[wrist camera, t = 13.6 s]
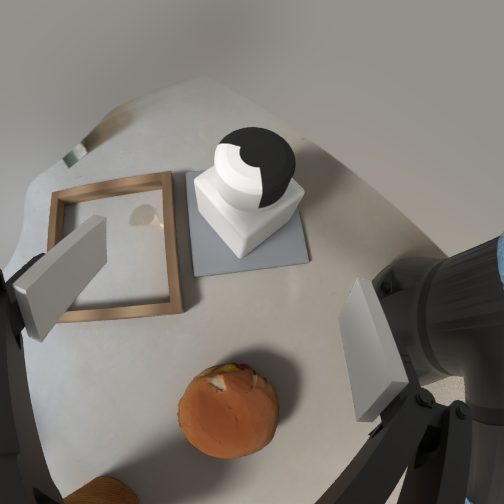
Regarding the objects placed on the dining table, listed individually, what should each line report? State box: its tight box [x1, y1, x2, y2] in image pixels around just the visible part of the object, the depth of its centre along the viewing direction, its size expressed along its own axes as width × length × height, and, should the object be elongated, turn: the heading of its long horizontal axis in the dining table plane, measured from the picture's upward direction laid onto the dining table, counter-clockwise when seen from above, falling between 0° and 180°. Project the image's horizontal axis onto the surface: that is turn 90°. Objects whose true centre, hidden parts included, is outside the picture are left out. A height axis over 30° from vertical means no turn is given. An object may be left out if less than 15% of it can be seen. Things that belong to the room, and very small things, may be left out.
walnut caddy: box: [47, 171, 184, 323], centre depth 30 cm, size 15×15×2 cm
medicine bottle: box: [194, 127, 305, 258], centre depth 27 cm, size 7×7×12 cm
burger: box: [177, 363, 279, 459], centre depth 25 cm, size 10×9×5 cm
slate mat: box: [186, 170, 309, 277], centre depth 33 cm, size 12×12×1 cm
